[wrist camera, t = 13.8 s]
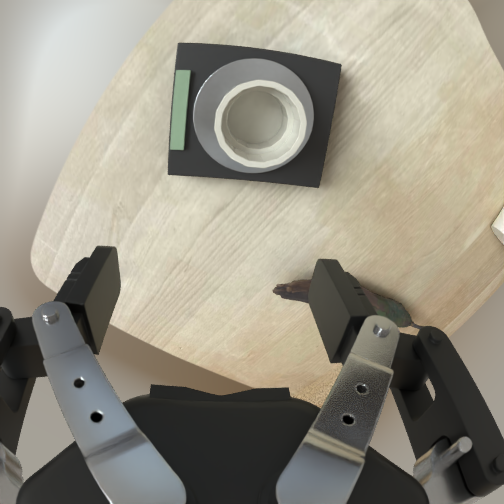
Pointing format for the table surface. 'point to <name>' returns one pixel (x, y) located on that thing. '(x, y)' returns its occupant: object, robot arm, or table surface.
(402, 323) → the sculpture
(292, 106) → the white cup
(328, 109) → the scale
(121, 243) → the table surface
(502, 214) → the mug
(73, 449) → the robot arm
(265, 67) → the pan
